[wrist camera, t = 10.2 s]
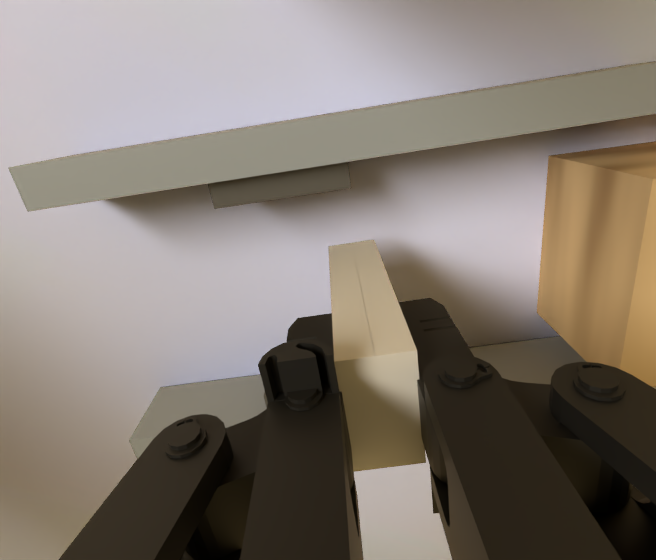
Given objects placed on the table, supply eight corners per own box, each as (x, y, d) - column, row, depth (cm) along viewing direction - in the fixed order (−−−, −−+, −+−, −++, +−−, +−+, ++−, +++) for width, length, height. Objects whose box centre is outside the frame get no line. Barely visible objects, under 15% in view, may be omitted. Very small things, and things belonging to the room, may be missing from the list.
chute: (170, 413, 18) (116, 519, 13) (69, 149, 14) (-61, 171, 9) (660, 352, 17) (786, 444, 12) (721, 42, 12) (951, 5, 8)
